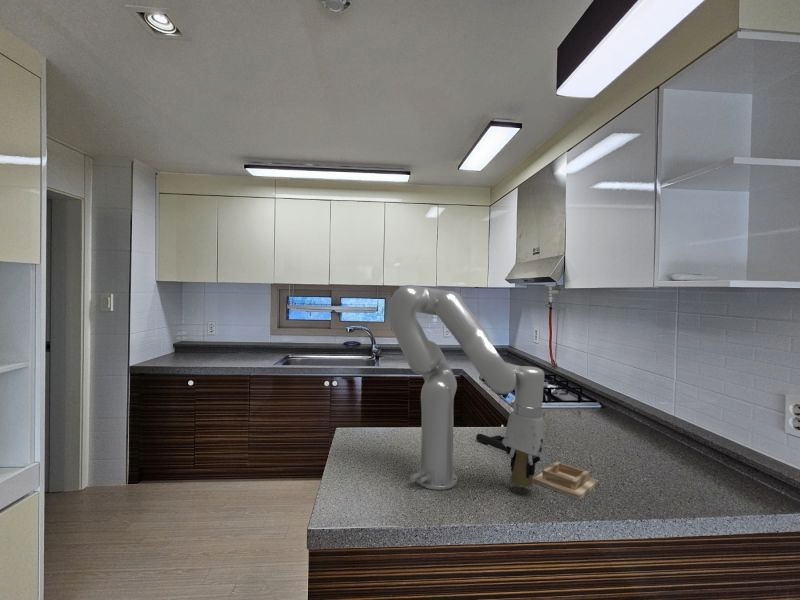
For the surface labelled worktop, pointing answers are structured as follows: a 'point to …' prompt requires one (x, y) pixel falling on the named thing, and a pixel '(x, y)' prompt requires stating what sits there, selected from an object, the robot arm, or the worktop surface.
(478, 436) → the door handle
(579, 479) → the holder
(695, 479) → the worktop surface
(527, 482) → the olive tall rounded piece
